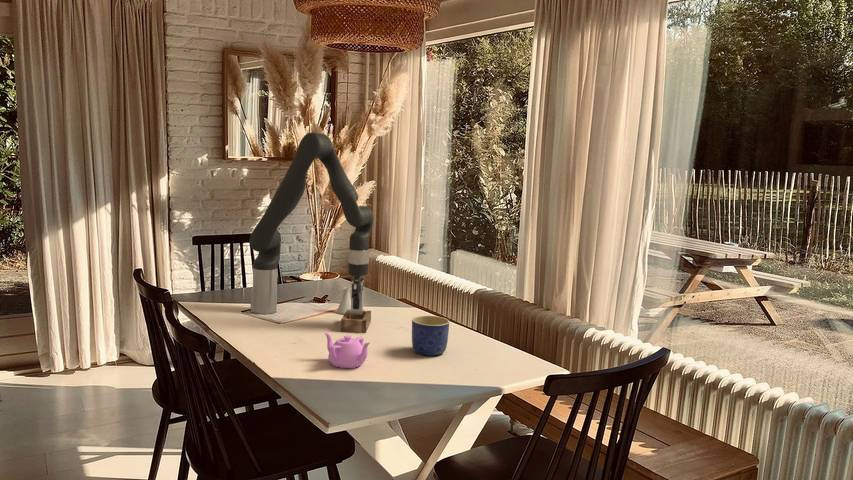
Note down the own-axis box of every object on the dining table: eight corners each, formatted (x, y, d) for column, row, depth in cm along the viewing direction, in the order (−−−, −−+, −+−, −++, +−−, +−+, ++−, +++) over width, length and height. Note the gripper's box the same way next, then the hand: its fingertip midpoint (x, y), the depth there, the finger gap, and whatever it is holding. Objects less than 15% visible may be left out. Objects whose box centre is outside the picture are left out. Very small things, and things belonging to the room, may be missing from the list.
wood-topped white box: (350, 314, 257) (351, 290, 256) (352, 311, 261) (353, 287, 259) (361, 315, 257) (362, 290, 255) (362, 312, 261) (363, 288, 259)
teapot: (369, 370, 213) (370, 342, 212) (323, 370, 211) (324, 341, 209) (366, 357, 224) (368, 330, 223) (323, 357, 222) (323, 330, 221)
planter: (420, 359, 225) (422, 326, 224) (404, 348, 236) (405, 316, 235) (454, 355, 231) (456, 323, 230) (436, 345, 242) (438, 314, 240)
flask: (356, 311, 283) (357, 286, 281) (352, 315, 276) (353, 290, 274) (338, 309, 283) (339, 285, 282) (334, 314, 276) (335, 289, 275)
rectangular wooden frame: (340, 331, 252) (341, 319, 251) (347, 320, 267) (347, 309, 266) (365, 333, 252) (366, 321, 251) (370, 322, 267) (371, 310, 266)
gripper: (351, 257, 263) (349, 302, 266) (345, 264, 249) (343, 311, 251) (371, 258, 263) (369, 303, 265) (366, 265, 249) (364, 312, 251)
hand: (356, 307), depth 258 cm, fingers closed on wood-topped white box, 4 cm apart
